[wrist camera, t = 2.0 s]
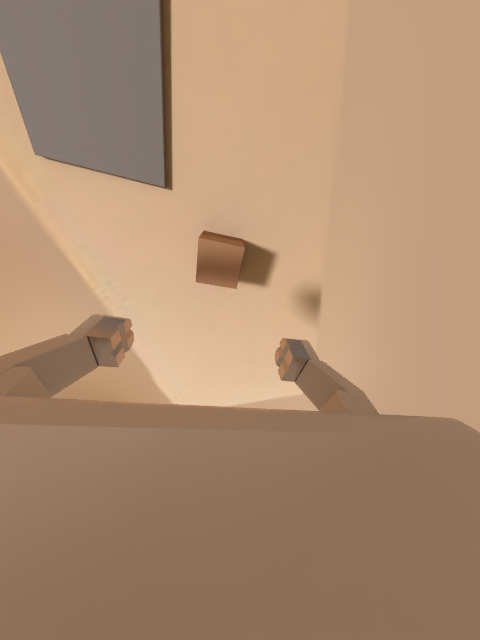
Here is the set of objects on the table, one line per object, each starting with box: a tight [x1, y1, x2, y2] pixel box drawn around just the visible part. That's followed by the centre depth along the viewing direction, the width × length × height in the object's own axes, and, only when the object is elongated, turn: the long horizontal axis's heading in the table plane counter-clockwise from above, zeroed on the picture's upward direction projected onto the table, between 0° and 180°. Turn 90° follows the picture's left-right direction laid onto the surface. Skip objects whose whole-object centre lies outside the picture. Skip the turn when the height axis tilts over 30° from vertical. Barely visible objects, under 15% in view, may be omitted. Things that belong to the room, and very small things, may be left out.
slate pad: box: [0, 0, 166, 188], centre depth 15 cm, size 12×12×1 cm
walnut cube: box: [196, 231, 245, 289], centre depth 22 cm, size 5×5×5 cm
